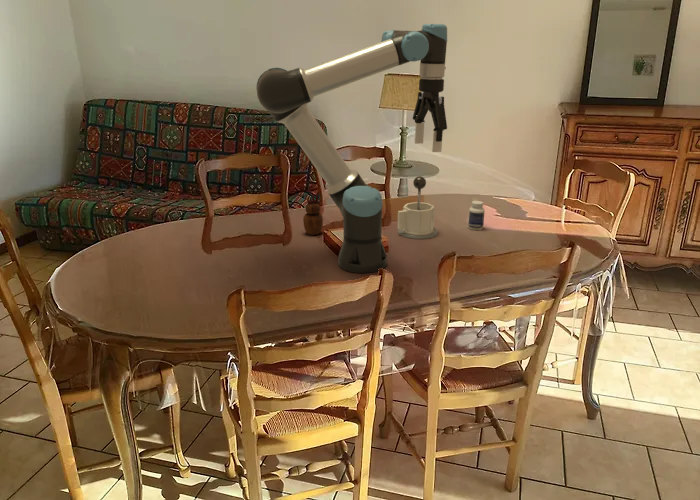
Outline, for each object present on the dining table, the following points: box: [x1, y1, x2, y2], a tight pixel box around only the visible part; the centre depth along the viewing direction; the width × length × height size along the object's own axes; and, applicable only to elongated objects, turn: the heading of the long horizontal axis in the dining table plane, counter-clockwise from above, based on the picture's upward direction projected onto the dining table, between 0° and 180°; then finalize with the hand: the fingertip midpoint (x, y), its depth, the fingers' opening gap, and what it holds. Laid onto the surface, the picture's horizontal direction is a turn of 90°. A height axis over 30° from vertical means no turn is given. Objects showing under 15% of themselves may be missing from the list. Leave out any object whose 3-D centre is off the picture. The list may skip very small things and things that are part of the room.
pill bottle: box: [467, 200, 485, 231], centre depth 212 cm, size 5×5×10 cm
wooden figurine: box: [303, 191, 324, 236], centre depth 207 cm, size 7×6×15 cm
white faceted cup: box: [397, 201, 439, 240], centre depth 208 cm, size 15×14×10 cm
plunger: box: [412, 175, 427, 211], centre depth 206 cm, size 7×7×18 cm
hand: (427, 147), depth 187 cm, fingers open, 13 cm apart
